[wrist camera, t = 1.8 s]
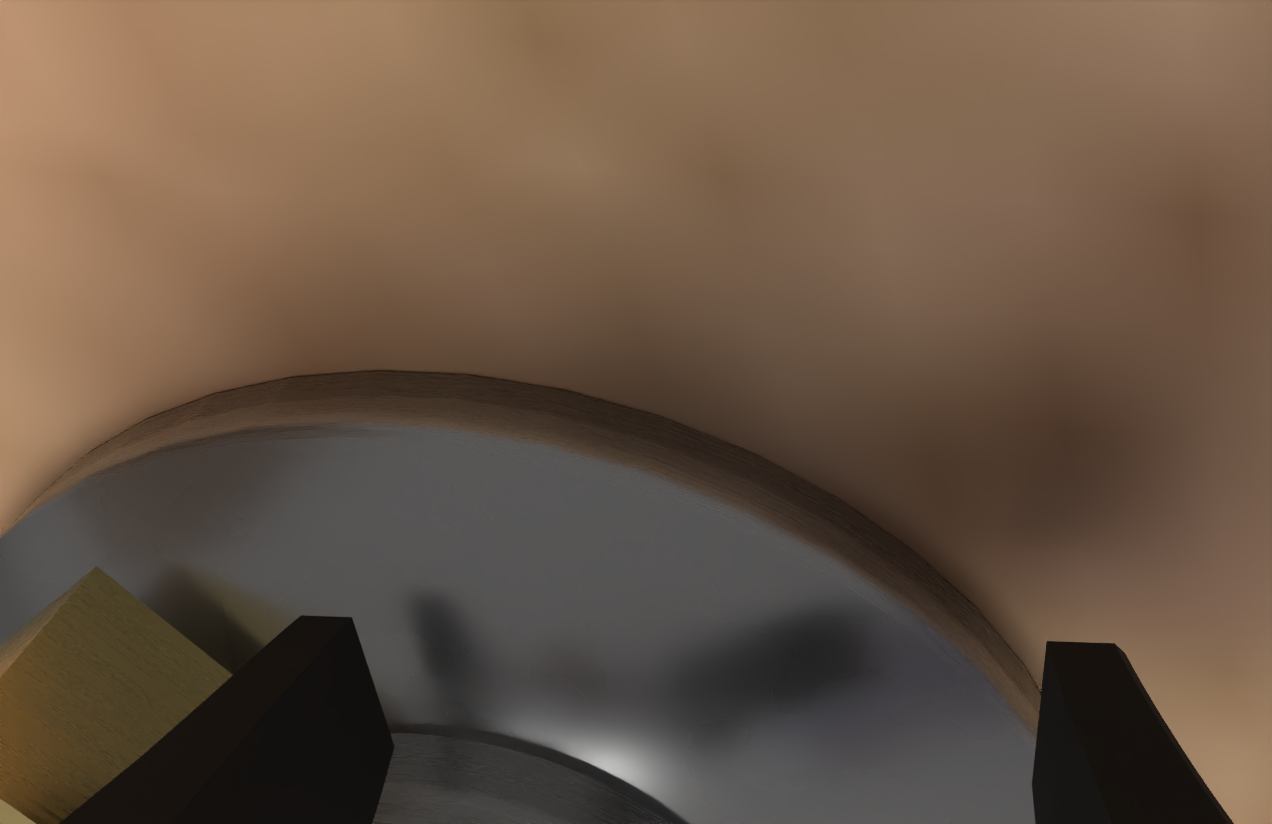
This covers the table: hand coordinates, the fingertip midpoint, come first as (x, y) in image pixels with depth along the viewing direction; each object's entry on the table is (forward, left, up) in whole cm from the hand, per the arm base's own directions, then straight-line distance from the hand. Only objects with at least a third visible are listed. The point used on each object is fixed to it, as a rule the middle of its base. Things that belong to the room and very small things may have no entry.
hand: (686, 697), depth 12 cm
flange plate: (+8, +2, -3) cm, 8 cm away
